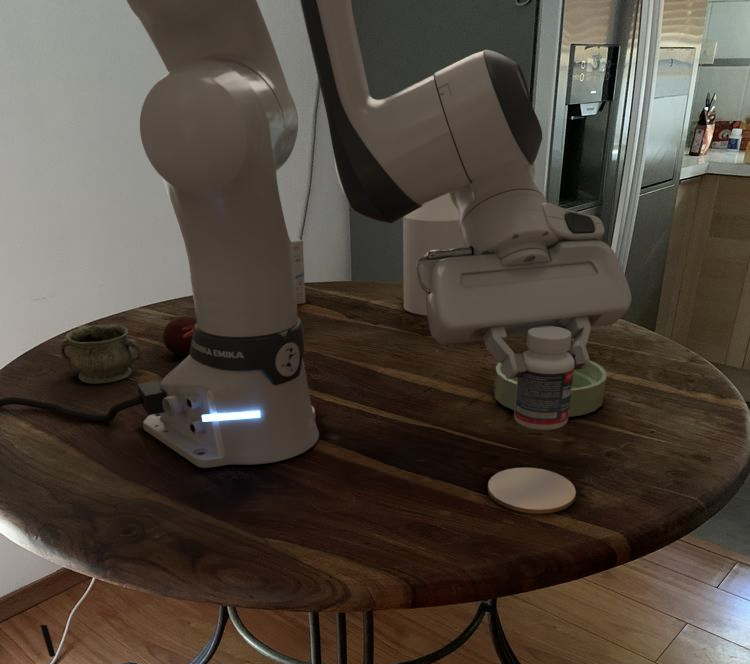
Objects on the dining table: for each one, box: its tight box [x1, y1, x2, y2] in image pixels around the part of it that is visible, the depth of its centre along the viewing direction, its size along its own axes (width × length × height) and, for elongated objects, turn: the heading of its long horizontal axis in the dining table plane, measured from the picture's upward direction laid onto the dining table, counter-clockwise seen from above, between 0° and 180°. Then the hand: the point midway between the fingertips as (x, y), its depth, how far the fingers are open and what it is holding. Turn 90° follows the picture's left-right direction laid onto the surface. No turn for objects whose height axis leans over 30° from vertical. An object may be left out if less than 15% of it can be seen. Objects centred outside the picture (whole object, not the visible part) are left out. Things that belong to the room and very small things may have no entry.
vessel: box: [59, 323, 143, 385], centre depth 106 cm, size 12×9×6 cm
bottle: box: [402, 193, 464, 316], centre depth 131 cm, size 12×12×25 cm
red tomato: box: [162, 315, 197, 358], centre depth 113 cm, size 8×9×6 cm
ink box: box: [288, 235, 306, 305], centre depth 137 cm, size 9×5×12 cm, turn 117°
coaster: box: [487, 467, 577, 515], centre depth 76 cm, size 9×9×1 cm
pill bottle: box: [513, 326, 575, 431], centre depth 70 cm, size 5×5×9 cm
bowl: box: [493, 360, 608, 418], centre depth 97 cm, size 14×14×4 cm
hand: (549, 371), depth 69 cm, fingers closed on pill bottle, 5 cm apart
